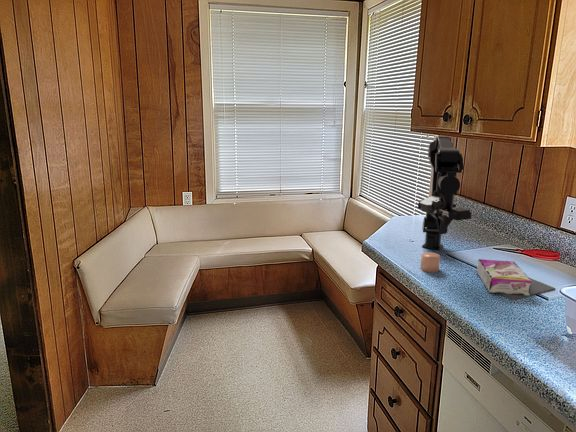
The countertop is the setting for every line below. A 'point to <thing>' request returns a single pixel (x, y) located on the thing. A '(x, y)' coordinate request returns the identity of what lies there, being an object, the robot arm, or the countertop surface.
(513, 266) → the candy bar box
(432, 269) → the tan short cylinder
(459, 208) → the robot arm
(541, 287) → the mat
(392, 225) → the countertop surface
